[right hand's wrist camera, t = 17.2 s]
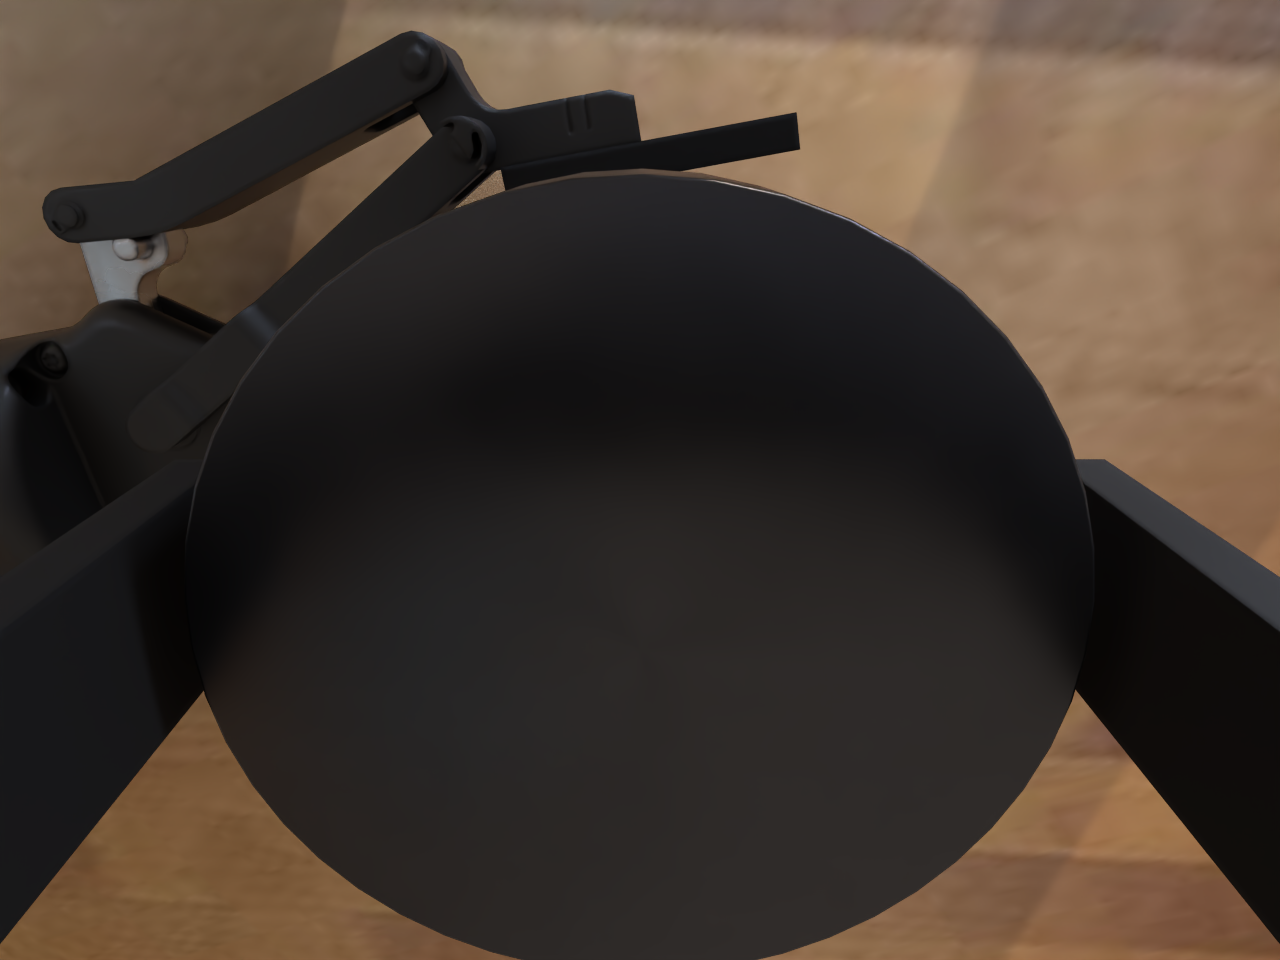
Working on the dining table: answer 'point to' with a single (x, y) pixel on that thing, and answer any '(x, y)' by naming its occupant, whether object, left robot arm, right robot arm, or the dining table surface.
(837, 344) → the lid
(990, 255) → the dining table surface
